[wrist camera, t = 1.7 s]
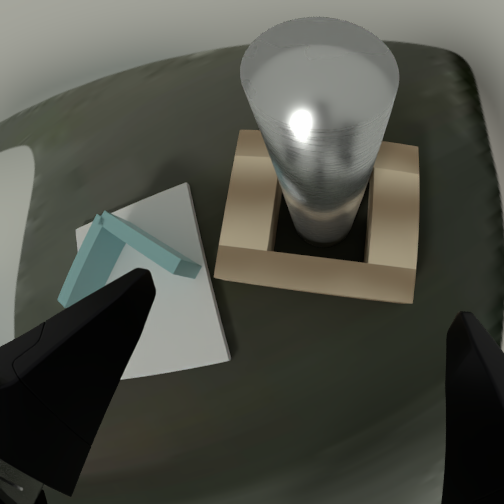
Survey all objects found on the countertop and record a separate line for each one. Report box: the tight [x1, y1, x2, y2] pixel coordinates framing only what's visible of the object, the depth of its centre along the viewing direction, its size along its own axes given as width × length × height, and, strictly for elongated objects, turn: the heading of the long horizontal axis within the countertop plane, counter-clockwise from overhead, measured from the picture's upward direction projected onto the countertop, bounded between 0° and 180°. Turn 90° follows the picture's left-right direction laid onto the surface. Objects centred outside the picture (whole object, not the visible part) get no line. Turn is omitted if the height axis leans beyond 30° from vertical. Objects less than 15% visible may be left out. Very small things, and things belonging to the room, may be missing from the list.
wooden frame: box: [214, 130, 419, 304], centre depth 20 cm, size 10×12×2 cm
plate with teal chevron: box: [58, 182, 231, 380], centre depth 21 cm, size 13×11×4 cm
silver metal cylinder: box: [240, 17, 399, 248], centre depth 14 cm, size 4×4×15 cm
